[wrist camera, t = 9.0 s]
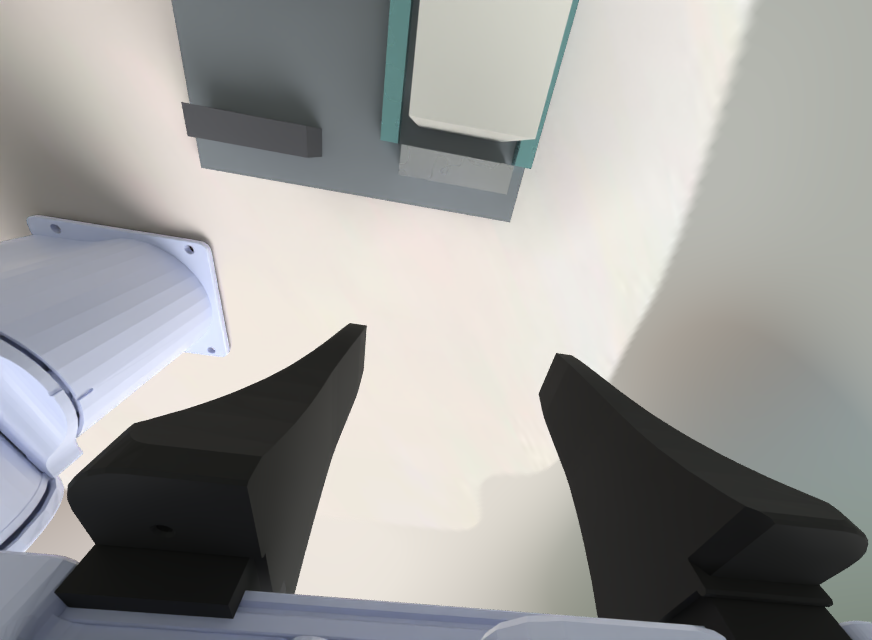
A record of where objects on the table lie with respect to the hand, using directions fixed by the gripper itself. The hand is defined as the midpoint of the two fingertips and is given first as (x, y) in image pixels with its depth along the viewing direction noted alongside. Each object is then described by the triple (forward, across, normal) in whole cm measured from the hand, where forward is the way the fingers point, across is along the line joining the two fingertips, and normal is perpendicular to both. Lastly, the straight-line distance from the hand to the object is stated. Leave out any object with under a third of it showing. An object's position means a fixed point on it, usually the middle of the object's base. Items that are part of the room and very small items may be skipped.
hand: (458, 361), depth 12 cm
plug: (+8, +1, -10) cm, 13 cm away
